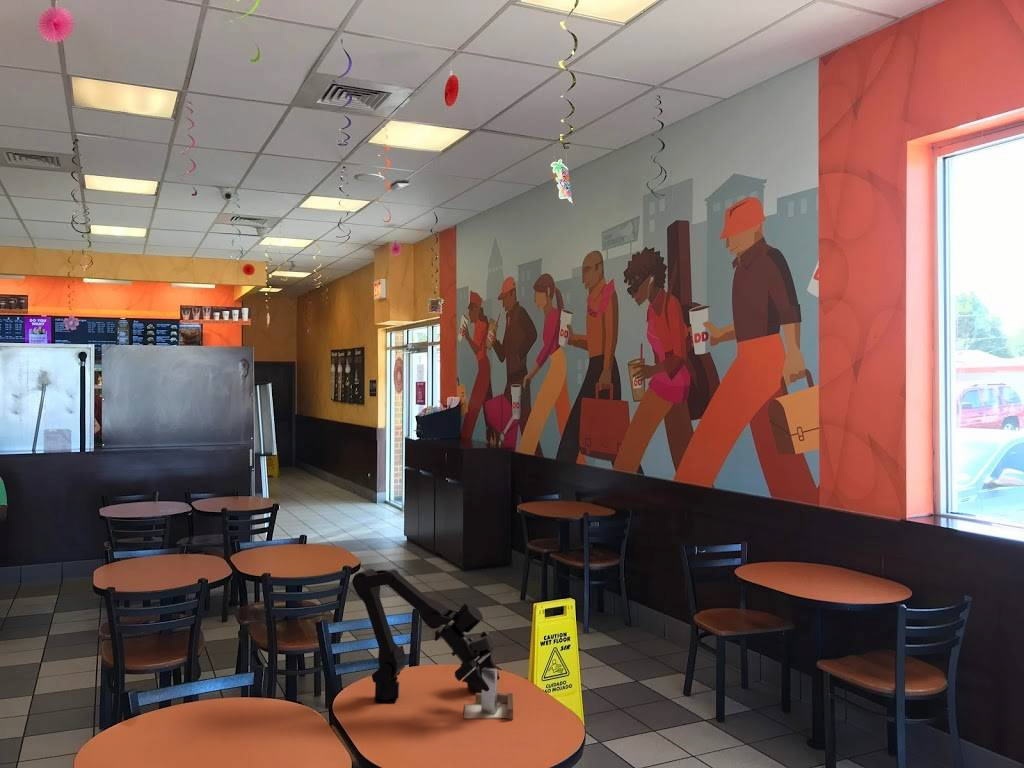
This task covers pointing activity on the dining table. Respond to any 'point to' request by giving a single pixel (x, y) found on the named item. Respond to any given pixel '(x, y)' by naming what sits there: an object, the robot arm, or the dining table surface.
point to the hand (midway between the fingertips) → (493, 684)
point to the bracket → (490, 692)
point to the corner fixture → (503, 712)
